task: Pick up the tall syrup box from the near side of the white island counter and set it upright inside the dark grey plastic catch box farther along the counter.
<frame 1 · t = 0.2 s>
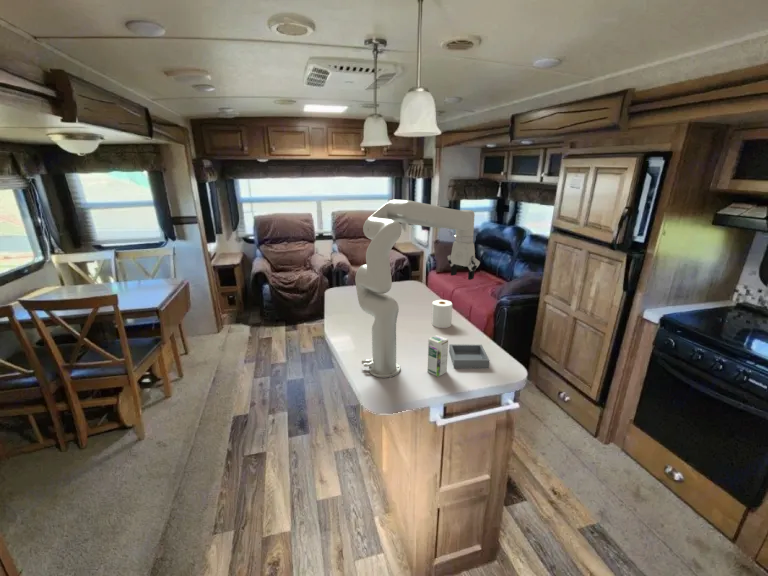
hand: (462, 277, 157), 31 cm above the counter, tool pointing down, fingers open, 9 cm apart
syrup box: (437, 372, 139), on the counter
toilet paper: (441, 324, 184), on the counter
catch box: (468, 359, 148), on the counter
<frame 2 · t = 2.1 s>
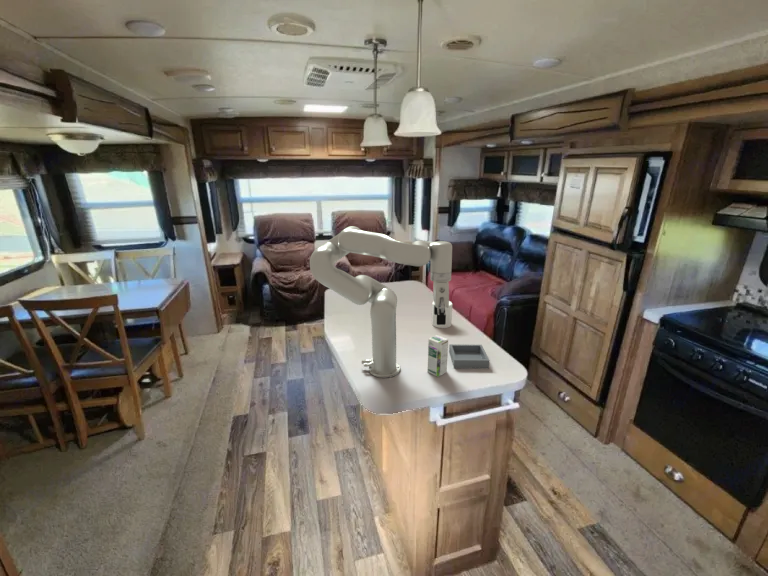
hand: (439, 319, 132), 22 cm above the counter, tool pointing down, fingers open, 9 cm apart
nothing on the counter moved.
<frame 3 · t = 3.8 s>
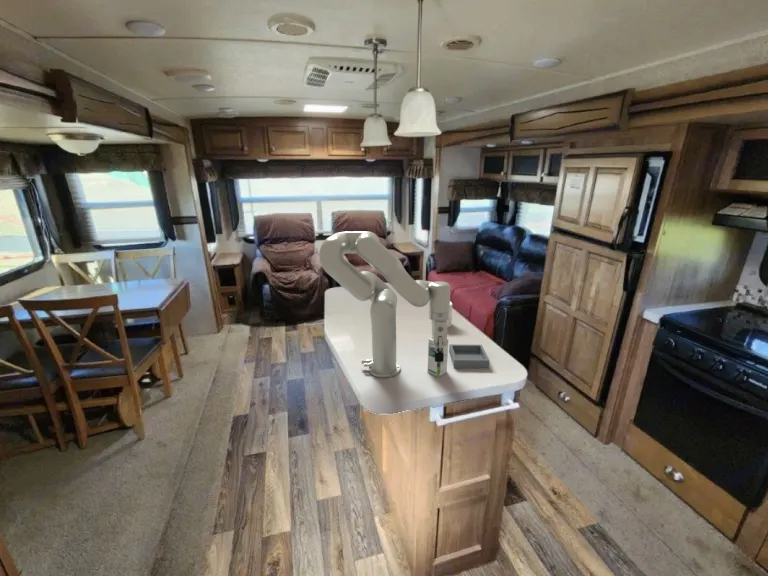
hand: (437, 355, 137), 7 cm above the counter, tool pointing down, fingers closed on syrup box, 8 cm apart
syrup box: (437, 372, 139), on the counter, touching gripper
everything else where it was.
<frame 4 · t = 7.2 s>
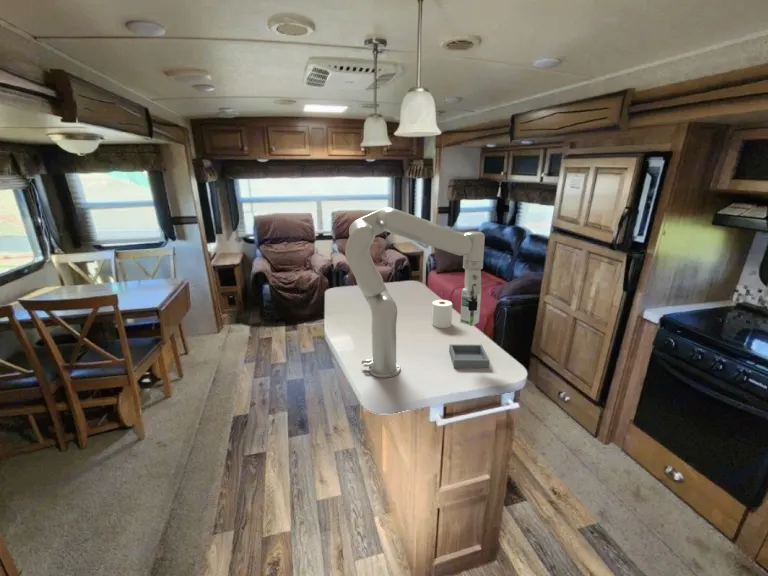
hand: (470, 306, 140), 24 cm above the counter, tool pointing down, fingers closed on syrup box, 8 cm apart
syrup box: (469, 323, 142), point 17 cm above the counter, touching gripper
everything else where it was.
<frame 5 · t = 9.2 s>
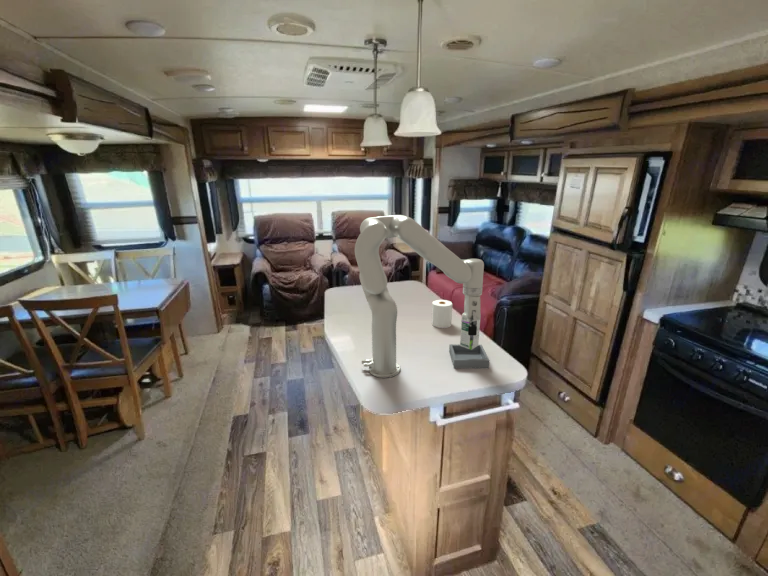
hand: (470, 330, 144), 14 cm above the counter, tool pointing down, fingers closed on syrup box, 8 cm apart
syrup box: (469, 346, 146), point 6 cm above the counter, touching gripper
everything else where it was.
when the fingers open (9 cm above the counter, at t = 10.8 s): syrup box drops 1 cm, resting on catch box.
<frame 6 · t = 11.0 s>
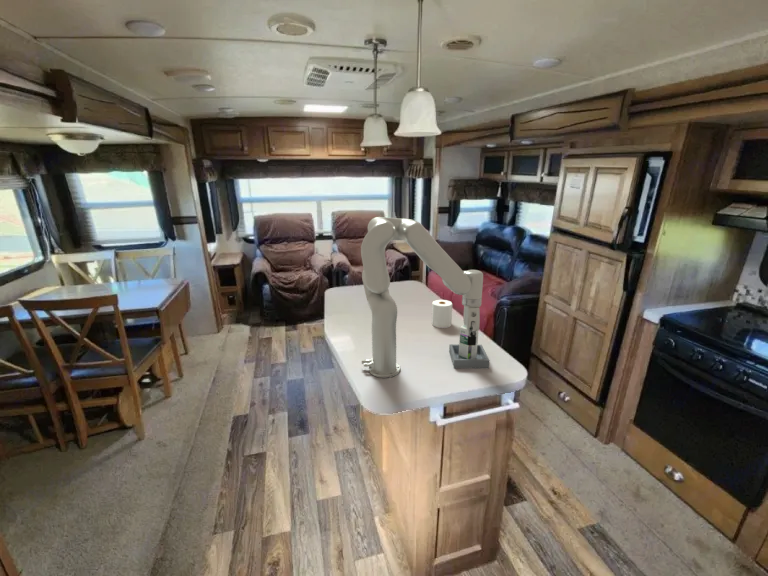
hand: (469, 339, 145), 9 cm above the counter, tool pointing down, fingers open, 9 cm apart
syrup box: (467, 358, 148), resting on catch box
everything else where it was.
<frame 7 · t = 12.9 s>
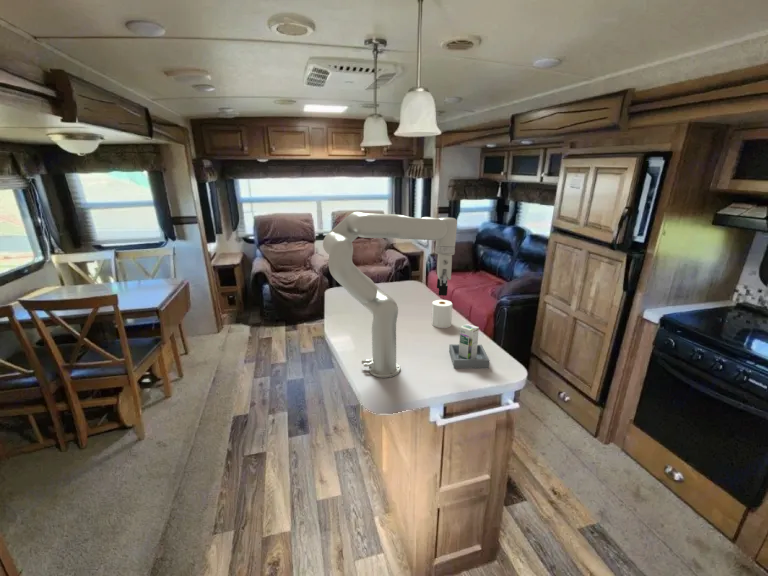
hand: (441, 291, 141), 30 cm above the counter, tool pointing down, fingers open, 9 cm apart
nothing on the counter moved.
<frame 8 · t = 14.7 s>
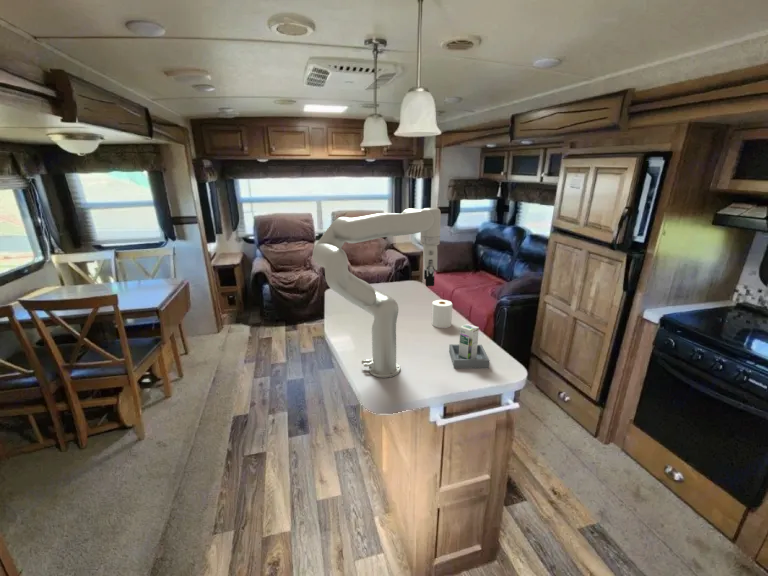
hand: (429, 282, 142), 33 cm above the counter, tool pointing down, fingers open, 9 cm apart
nothing on the counter moved.
at the end: syrup box inside the target area on the catch box (0.3 cm from its centre), point 0.4 cm above the catch box's base; syrup box tilted 0°; the gripper is holding nothing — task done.
